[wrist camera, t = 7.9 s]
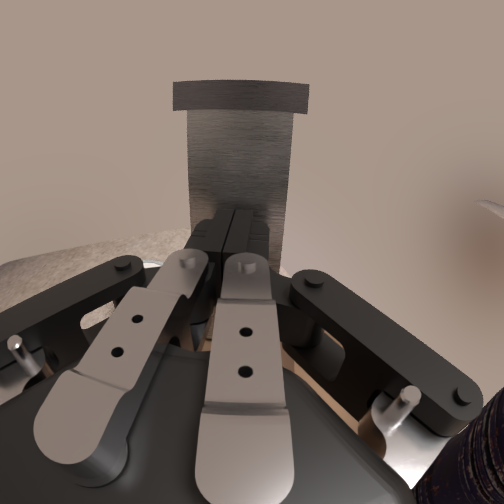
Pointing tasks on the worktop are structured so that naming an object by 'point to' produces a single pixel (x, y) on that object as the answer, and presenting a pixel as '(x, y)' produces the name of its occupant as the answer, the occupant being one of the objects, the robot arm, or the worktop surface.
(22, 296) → the worktop surface
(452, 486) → the dark blue ribbed barrel
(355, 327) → the robot arm
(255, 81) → the grey metal tall block
